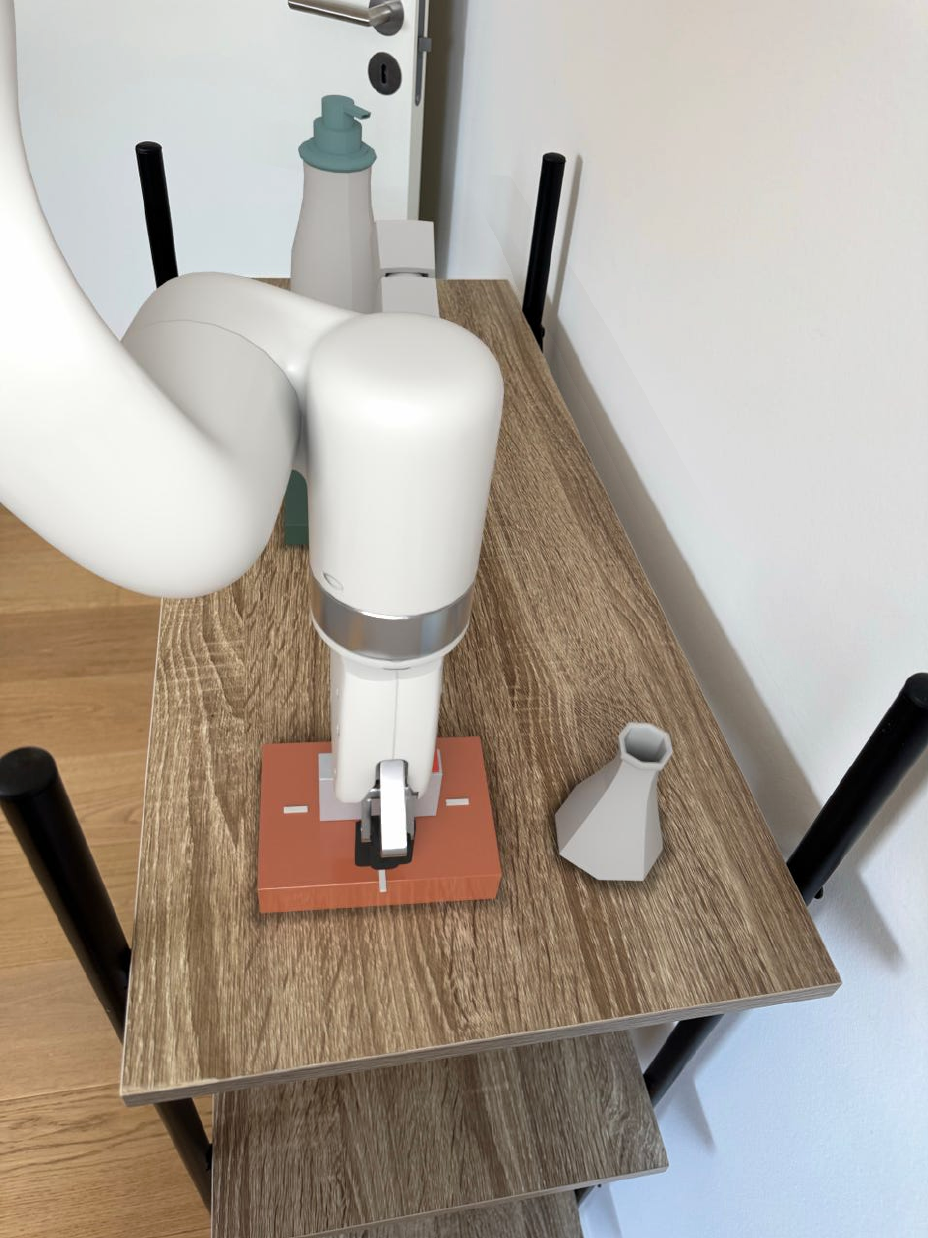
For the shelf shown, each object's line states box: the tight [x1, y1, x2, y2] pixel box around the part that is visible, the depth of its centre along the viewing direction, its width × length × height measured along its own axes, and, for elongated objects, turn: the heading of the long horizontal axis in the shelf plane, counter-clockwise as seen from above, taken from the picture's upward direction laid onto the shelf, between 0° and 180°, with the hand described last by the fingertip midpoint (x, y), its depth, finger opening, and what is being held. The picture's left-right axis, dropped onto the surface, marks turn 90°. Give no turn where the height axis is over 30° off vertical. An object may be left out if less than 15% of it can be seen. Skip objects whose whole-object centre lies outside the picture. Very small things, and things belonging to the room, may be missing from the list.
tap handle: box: [319, 749, 442, 821], centre depth 54 cm, size 7×2×5 cm, turn 97°
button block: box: [284, 469, 309, 546], centre depth 78 cm, size 12×10×4 cm
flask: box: [554, 721, 674, 882], centre depth 56 cm, size 7×7×10 cm
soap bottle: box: [289, 94, 378, 314], centre depth 91 cm, size 10×10×23 cm
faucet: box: [370, 219, 441, 318], centre depth 88 cm, size 6×16×20 cm
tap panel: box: [256, 735, 503, 914], centre depth 56 cm, size 14×11×3 cm
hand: (378, 794), depth 54 cm, fingers open, 8 cm apart
